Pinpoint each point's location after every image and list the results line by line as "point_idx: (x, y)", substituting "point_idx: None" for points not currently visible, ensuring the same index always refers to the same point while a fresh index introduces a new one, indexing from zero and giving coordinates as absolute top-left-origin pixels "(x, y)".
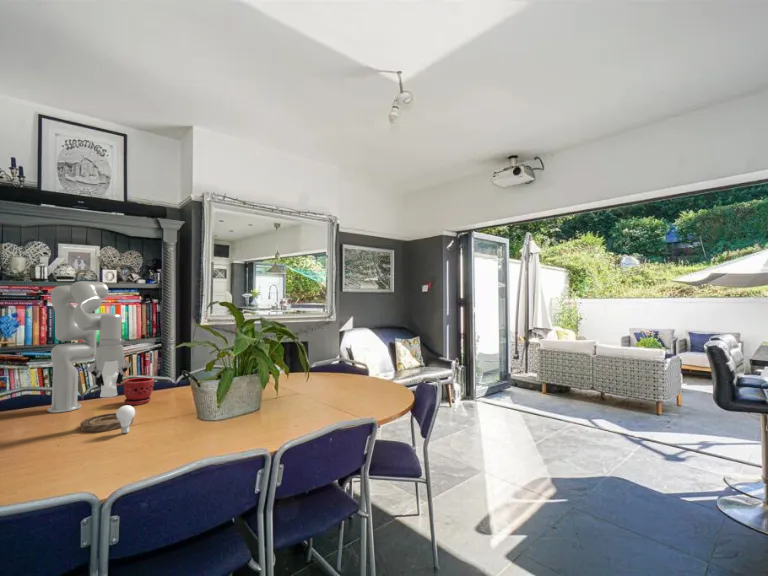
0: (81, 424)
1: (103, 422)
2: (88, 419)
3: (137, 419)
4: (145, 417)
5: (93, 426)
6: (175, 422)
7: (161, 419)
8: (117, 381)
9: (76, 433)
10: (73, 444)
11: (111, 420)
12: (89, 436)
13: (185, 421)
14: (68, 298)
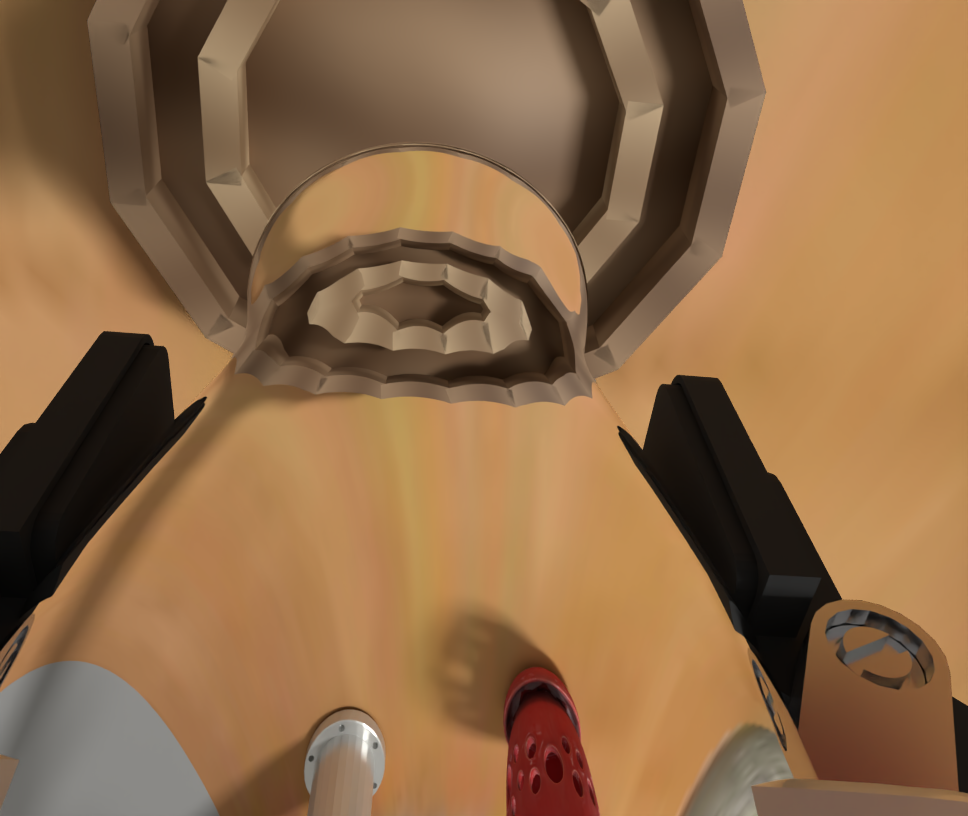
0: (101, 89)
1: (392, 68)
2: None
3: (777, 167)
4: (887, 155)
5: (213, 338)
6: (888, 576)
7: (906, 392)
8: (662, 447)
9: (68, 190)
10: None
11: (501, 53)
12: (178, 409)
13: (950, 609)
14: None
